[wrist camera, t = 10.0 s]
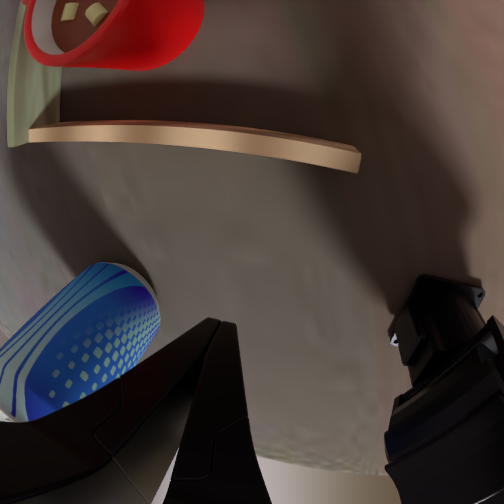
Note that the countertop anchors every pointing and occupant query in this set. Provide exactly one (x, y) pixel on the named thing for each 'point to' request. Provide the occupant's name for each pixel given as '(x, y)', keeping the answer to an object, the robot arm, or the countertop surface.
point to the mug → (110, 32)
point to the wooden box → (142, 121)
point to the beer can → (77, 342)
